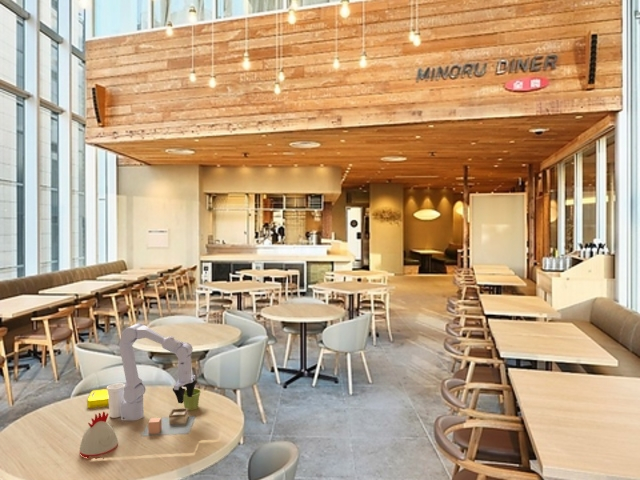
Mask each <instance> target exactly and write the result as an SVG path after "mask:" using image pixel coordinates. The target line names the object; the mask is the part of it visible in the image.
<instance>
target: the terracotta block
mask: <svg viewBox="0 0 640 480" xmlns="http://www.w3.org/2000/svg"><path fill="white" fill-rule="evenodd" d="M161 418H162V417H150V419H149V421H148V423H147V425H148V431H149V434H157V433H160V431H161V429H162V423H161Z"/></svg>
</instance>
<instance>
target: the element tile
mask: <svg viewBox="0 0 640 480" xmlns="http://www.w3.org/2000/svg"><path fill="white" fill-rule="evenodd" d="M86 407H88V408H87V409H97V408H96V407H98V408H103V407H104V408H106V407H109V401H108V391H107V388H102V389H93V390H92V391H90V394H89V395H88V397H87V399H86Z"/></svg>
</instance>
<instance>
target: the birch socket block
mask: <svg viewBox="0 0 640 480" xmlns="http://www.w3.org/2000/svg"><path fill="white" fill-rule="evenodd" d="M188 416H189V410H188V408H185V407H183V408H172V409H171V411H170V412H169V416H168V417H169V424H182V423H186V421H187V418H188Z"/></svg>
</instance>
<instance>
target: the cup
mask: <svg viewBox="0 0 640 480" xmlns="http://www.w3.org/2000/svg"><path fill="white" fill-rule="evenodd" d="M125 384H126V383H122V382H116V383H112V384H109V385H107V386H106V389H107V391H108V401H109V406H108V410H109V411H108V412H109V413H108V414H109V417H110V418H112V419H113V418H114V419H115V418H116V419H117V418H119V417H120V418H121V404H122V402H123V401H125V400H124V396H123V395H124V386H125Z"/></svg>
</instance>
